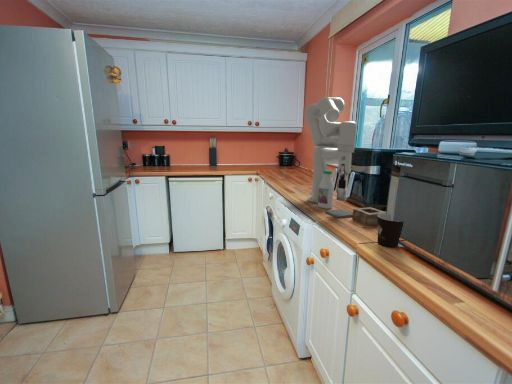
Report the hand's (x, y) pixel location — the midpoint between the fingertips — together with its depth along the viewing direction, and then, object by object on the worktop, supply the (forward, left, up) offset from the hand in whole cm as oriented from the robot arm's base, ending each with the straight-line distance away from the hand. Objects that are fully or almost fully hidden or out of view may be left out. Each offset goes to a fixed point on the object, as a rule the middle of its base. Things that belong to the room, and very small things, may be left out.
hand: (342, 187), depth 124 cm
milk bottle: (-14, +1, -14) cm, 20 cm away
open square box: (+13, +6, -14) cm, 20 cm away
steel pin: (0, 0, -6) cm, 6 cm away
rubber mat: (0, 0, -14) cm, 14 cm away
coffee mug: (+35, -6, -14) cm, 38 cm away
